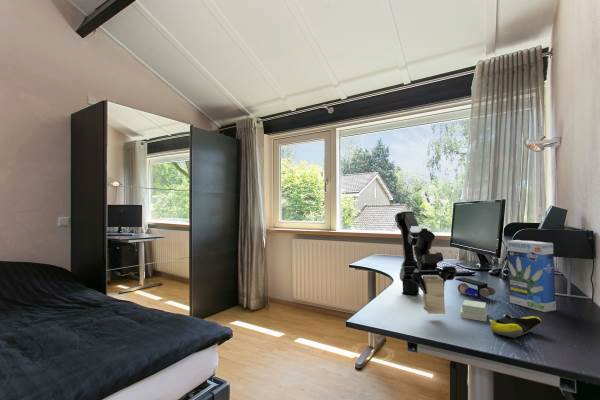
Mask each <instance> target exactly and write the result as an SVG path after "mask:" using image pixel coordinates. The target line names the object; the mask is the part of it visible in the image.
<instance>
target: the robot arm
mask: <svg viewBox="0 0 600 400" xmlns="http://www.w3.org/2000/svg"><path fill="white" fill-rule="evenodd" d="M394 221H395V223H396V227H397V229H399V231H400V234H401V235H400V236H401V244H402V251H403V252H402V253H403V262H402V263H401V266H400V270H399V280H400V281H401V282H402V292H401V295H406V296H407V295H409V296H417V295H418V294H419V293H420V290H421V291H422V293H423V292H424V293H425V294H427V291H426V287H425V285H424V282H423V277H422V276H439V277H440V278H442V279H443V281H444V285H446V284H445V283H446V282H447V281H453V280H454V279H455V277H456V276H457V272H458V271H457V268H456V267H455V266H453V265H443V266H442V269H436V268H438V264H439V263H442V262H443V261H444V257H443V252H436V253H431V251H430V250H432V247H433V244H434V241H435V238H436V236H435V234H434V233H433V232H432V231H430V230H428V229H427V228H426V227H425V228H423V227H422V228H421V227H420V225H419V223H418V221H417V219H416V216H415V212H414V210H403V211H401V212H397V213H396V214H395V215H394ZM413 246H414V247H413ZM414 256H415V257H414Z"/></svg>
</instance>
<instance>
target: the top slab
mask: <svg viewBox="0 0 600 400" xmlns="http://www.w3.org/2000/svg"><path fill="white" fill-rule="evenodd" d="M461 308H462V312H468V313H474V314H480V315H485V313H486V309H487V303H486V302H482V301H475V300H469V299H465V300H463V302H462V304H461Z"/></svg>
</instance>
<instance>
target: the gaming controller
mask: <svg viewBox="0 0 600 400" xmlns="http://www.w3.org/2000/svg"><path fill="white" fill-rule="evenodd" d="M489 322H490V324H491V325H490V330H491V331H492V332H493V333H495V334H497V335H501V336H504V337H508V338H512V339H515V338H516V339H518V337H520V336H522V335H524V334H528V333H529V332H531V331H534V330H537V329H538V328H539V327H540V326H542V320H541V318H540V317H539V316H534V315H533V316H532V315H530V316H524V317H513V316H512V315H509V314H503V317H501V318H498V319H496V321H495V320H494V319H489Z"/></svg>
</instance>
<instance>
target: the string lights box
mask: <svg viewBox="0 0 600 400" xmlns="http://www.w3.org/2000/svg"><path fill="white" fill-rule="evenodd" d="M506 242H507V243H506V246H507V262H508V263H507V266H508V288H509V289H508V290H509V292H508V293H509V303H511V304H513V305H514V304H515V305H517V306H521V307H525V308H529V309H532V310H536V311H539V312H543V313H548V312H552V311H556V310H557V305H556V304H557V302H556V286H555V284H556V283H555V282H556V279H555V263H554V259H555V258H554V257H555V256H554V243H553V242H544V241H535V240H520V239H515V240H514V239H512V240H507V241H506Z"/></svg>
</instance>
